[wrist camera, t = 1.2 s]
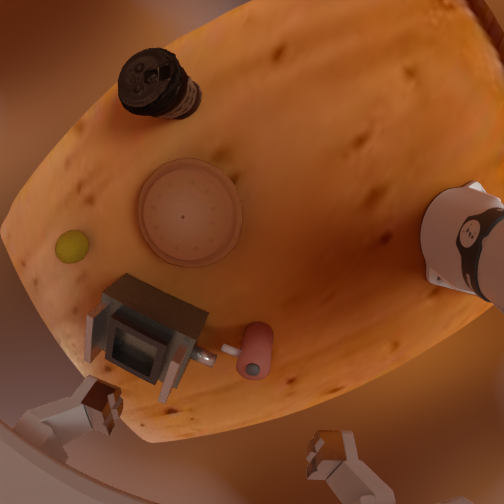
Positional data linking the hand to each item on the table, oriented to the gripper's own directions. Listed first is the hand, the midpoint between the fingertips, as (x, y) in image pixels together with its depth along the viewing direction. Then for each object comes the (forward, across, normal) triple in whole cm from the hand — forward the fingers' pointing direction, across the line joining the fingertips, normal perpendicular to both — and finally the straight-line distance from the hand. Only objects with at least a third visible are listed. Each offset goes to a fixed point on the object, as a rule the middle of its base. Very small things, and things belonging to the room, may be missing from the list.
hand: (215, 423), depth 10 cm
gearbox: (+33, +13, +20) cm, 41 cm away
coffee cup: (+34, +15, -17) cm, 40 cm away
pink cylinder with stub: (+33, -2, +17) cm, 37 cm away
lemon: (+34, +30, +8) cm, 47 cm away
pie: (+34, +10, 0) cm, 35 cm away
